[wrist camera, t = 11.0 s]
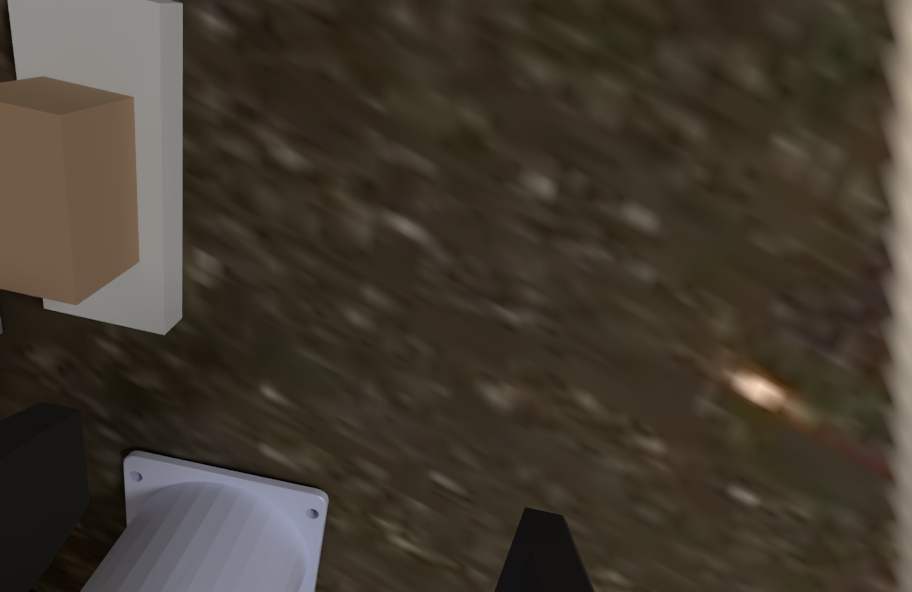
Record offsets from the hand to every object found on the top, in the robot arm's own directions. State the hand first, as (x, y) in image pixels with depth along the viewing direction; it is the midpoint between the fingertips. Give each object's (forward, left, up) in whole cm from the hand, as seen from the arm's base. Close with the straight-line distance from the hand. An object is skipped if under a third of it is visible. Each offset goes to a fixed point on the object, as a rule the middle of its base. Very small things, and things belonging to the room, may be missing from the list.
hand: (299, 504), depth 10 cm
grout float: (+1, +9, -11) cm, 14 cm away
